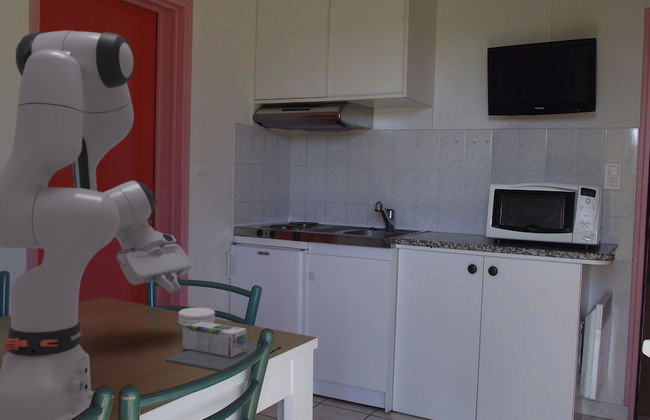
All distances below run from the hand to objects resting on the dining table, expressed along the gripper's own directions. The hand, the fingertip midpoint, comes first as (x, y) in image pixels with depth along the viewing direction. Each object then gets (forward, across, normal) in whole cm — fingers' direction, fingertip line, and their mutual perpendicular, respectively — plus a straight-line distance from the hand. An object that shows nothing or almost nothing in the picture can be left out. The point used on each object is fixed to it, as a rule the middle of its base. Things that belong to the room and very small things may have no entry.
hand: (175, 290), depth 154 cm
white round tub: (+3, +20, +16) cm, 26 cm away
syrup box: (+10, 0, +4) cm, 11 cm away
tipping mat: (+20, 0, -1) cm, 20 cm away
